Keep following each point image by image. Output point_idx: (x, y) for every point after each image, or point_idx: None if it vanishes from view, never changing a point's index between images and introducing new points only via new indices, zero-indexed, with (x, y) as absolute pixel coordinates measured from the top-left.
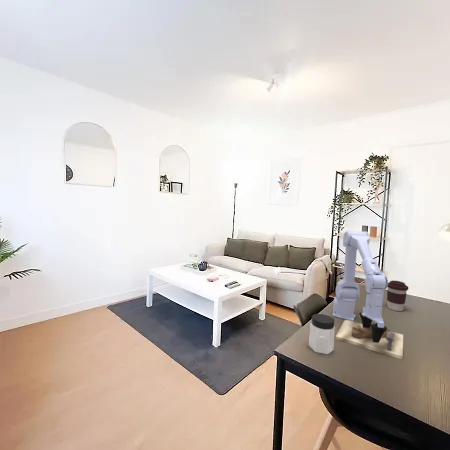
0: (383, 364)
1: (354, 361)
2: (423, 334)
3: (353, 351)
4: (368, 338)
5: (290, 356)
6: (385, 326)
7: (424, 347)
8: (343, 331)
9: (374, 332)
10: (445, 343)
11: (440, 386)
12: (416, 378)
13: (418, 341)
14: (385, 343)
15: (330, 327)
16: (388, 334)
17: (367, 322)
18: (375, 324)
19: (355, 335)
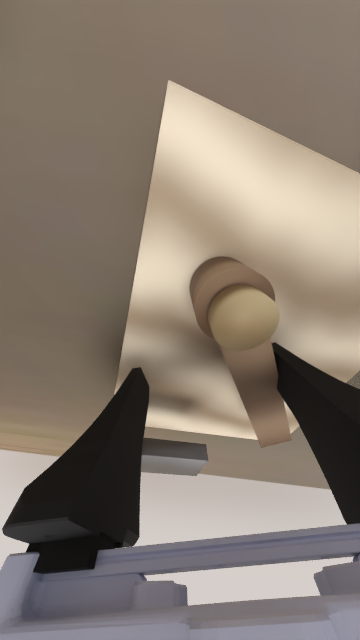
0: (24, 358)
1: None
2: (301, 463)
3: (46, 242)
4: (217, 345)
5: None
6: (123, 546)
7: (224, 455)
8: (286, 196)
9: (82, 441)
10: (258, 480)
11: (23, 447)
12: (15, 419)
13: (257, 452)
14: (190, 395)
15: None
16: (166, 460)
17: (305, 411)
18: (91, 538)
19: (193, 282)
